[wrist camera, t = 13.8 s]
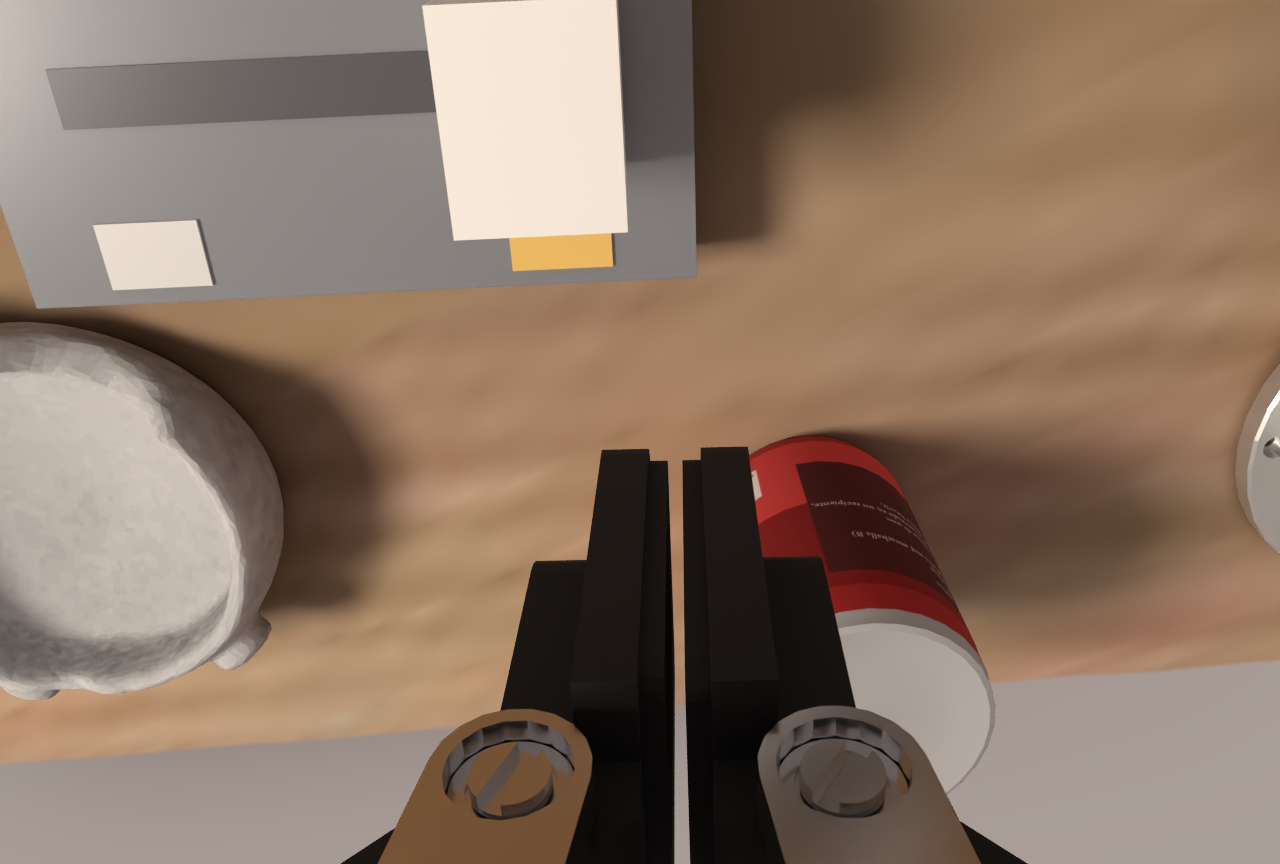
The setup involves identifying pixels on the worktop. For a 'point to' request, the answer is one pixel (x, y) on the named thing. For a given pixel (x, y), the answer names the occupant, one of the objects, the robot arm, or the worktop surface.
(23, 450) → the dish
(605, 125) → the block
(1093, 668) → the worktop surface
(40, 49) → the breaker panel
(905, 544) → the canned food
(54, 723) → the worktop surface
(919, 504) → the worktop surface
